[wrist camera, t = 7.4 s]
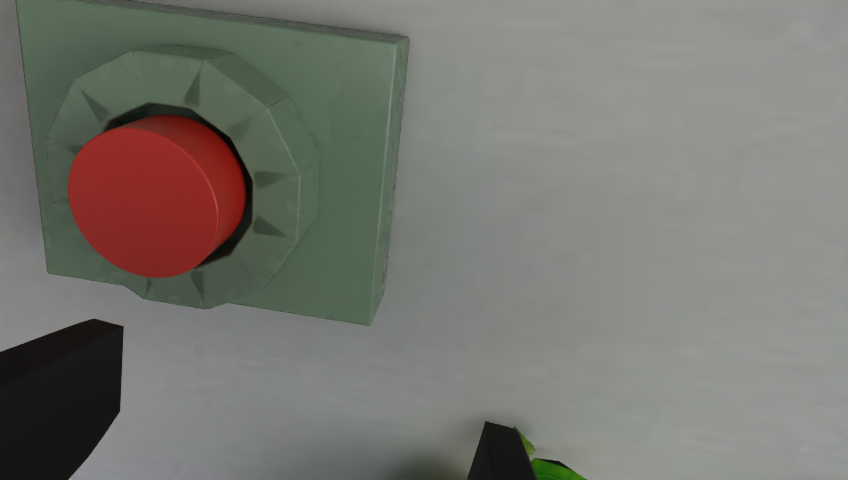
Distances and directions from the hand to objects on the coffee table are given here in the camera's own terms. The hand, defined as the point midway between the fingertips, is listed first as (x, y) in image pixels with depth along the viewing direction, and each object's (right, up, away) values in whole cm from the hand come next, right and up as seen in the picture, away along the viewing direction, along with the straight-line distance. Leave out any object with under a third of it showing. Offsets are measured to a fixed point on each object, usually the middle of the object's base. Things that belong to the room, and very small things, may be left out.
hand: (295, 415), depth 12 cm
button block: (-3, +6, +7) cm, 10 cm away
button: (-4, +5, +4) cm, 7 cm away
